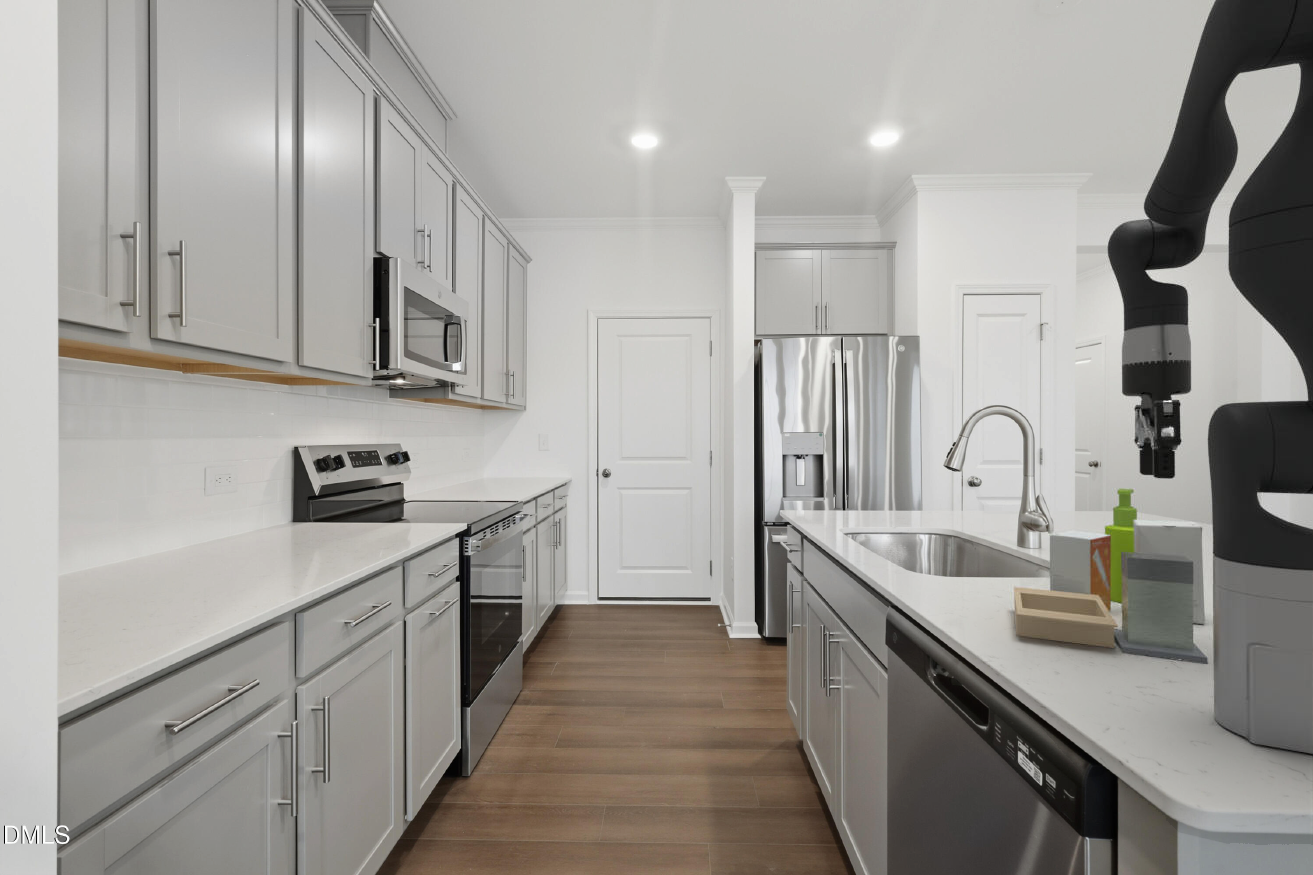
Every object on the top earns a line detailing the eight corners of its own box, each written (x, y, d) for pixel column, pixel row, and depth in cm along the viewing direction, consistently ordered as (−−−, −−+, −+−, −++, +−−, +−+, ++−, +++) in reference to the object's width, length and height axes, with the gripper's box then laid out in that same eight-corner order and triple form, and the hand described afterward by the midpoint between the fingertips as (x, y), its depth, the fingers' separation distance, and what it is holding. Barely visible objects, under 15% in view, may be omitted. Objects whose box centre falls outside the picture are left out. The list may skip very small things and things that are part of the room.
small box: (1091, 619, 99) (1090, 539, 99) (1048, 610, 104) (1048, 534, 104) (1112, 610, 103) (1111, 534, 103) (1070, 602, 109) (1070, 529, 109)
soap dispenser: (1148, 598, 111) (1147, 488, 111) (1144, 606, 106) (1143, 491, 106) (1108, 592, 115) (1107, 487, 115) (1103, 600, 110) (1102, 489, 110)
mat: (1207, 663, 79) (1207, 657, 79) (1121, 652, 84) (1121, 646, 84) (1188, 642, 87) (1188, 637, 87) (1110, 633, 92) (1110, 628, 92)
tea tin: (1193, 651, 82) (1193, 561, 82) (1128, 642, 85) (1127, 557, 85) (1184, 640, 86) (1183, 555, 86) (1121, 633, 89) (1121, 551, 89)
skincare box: (1197, 615, 100) (1196, 521, 100) (1206, 626, 95) (1205, 526, 95) (1133, 608, 105) (1132, 517, 105) (1138, 618, 99) (1137, 522, 99)
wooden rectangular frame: (1118, 654, 83) (1117, 625, 83) (1017, 641, 89) (1017, 613, 89) (1098, 619, 98) (1098, 595, 98) (1014, 610, 104) (1013, 586, 104)
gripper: (1206, 353, 77) (1206, 480, 77) (1176, 364, 90) (1177, 474, 90) (1132, 357, 81) (1132, 479, 81) (1113, 367, 94) (1114, 473, 94)
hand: (1156, 476), depth 85 cm, fingers open, 8 cm apart
